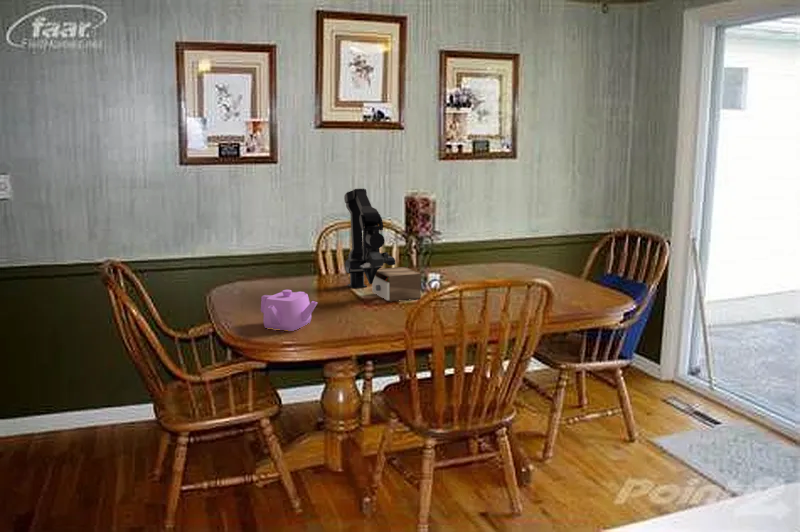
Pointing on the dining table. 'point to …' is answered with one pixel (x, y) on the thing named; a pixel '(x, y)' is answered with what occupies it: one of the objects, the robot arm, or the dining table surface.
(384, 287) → the drawer
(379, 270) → the small brown cabinet
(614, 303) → the dining table surface
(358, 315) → the dining table surface
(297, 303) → the teakettle
